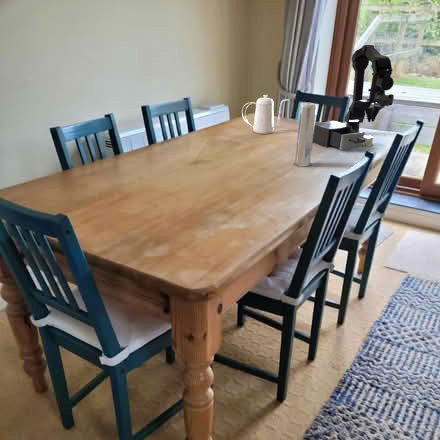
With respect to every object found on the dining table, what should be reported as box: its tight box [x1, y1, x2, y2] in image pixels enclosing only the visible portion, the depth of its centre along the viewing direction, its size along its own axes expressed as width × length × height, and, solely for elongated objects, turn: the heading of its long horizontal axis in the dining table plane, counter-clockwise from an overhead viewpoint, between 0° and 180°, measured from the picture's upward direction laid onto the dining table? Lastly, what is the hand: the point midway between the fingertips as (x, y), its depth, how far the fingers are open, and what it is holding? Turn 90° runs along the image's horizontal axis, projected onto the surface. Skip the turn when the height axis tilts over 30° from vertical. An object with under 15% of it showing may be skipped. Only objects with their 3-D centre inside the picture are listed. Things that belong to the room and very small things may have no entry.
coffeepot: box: [241, 94, 290, 135], centre depth 242 cm, size 11×25×19 cm, turn 84°
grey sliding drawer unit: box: [313, 120, 352, 148], centre depth 228 cm, size 14×15×9 cm
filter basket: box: [363, 135, 375, 147], centre depth 226 cm, size 5×5×4 cm
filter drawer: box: [328, 128, 366, 151], centre depth 219 cm, size 17×13×7 cm
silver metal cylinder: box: [294, 102, 317, 167], centre depth 192 cm, size 6×6×25 cm
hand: (370, 121), depth 221 cm, fingers closed
